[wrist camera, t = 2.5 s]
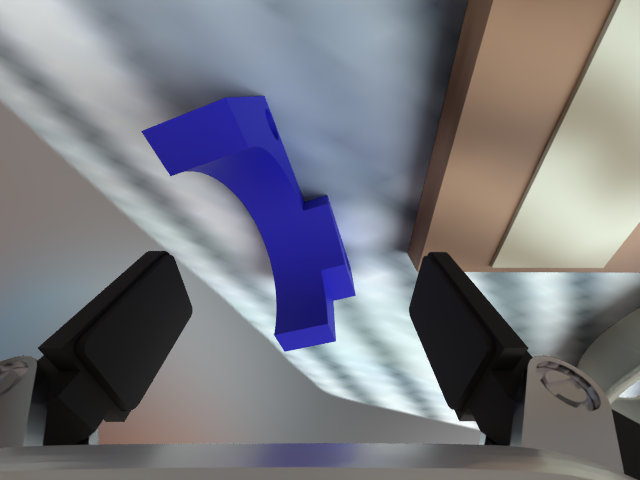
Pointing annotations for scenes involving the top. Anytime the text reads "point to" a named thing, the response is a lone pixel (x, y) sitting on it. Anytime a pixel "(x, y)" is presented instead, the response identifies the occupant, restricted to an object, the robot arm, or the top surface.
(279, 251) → the blue curved stepped block
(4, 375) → the robot arm
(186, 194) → the top surface
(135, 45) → the top surface
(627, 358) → the cake pan
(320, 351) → the top surface
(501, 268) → the mounting board
